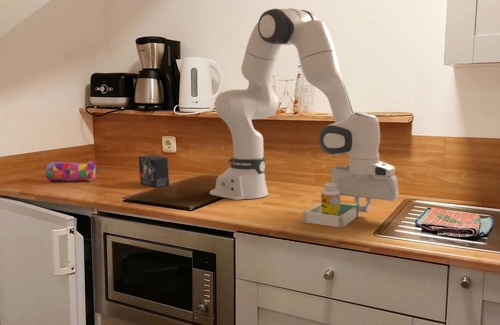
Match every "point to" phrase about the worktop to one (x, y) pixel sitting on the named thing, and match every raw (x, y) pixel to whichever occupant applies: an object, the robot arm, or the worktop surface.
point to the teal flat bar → (348, 208)
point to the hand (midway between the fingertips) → (363, 211)
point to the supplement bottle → (330, 199)
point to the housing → (328, 217)
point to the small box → (154, 171)
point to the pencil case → (71, 171)
